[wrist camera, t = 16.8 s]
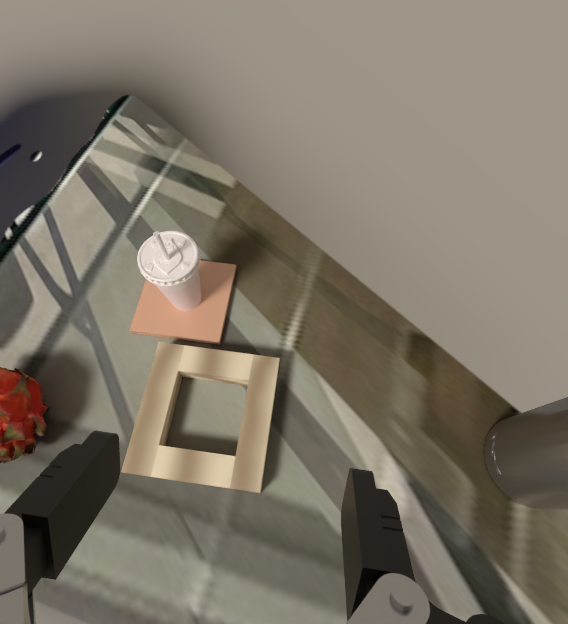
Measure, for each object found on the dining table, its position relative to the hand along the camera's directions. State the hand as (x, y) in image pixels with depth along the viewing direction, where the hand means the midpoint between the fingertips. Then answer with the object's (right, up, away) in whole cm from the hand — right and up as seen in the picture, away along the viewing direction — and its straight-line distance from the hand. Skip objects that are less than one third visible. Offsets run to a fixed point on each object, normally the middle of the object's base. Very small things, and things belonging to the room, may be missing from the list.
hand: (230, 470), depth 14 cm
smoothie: (-10, +7, +36) cm, 38 cm away
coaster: (-11, +7, +37) cm, 39 cm away
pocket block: (-7, -6, +31) cm, 32 cm away
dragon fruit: (-28, -6, +31) cm, 42 cm away
